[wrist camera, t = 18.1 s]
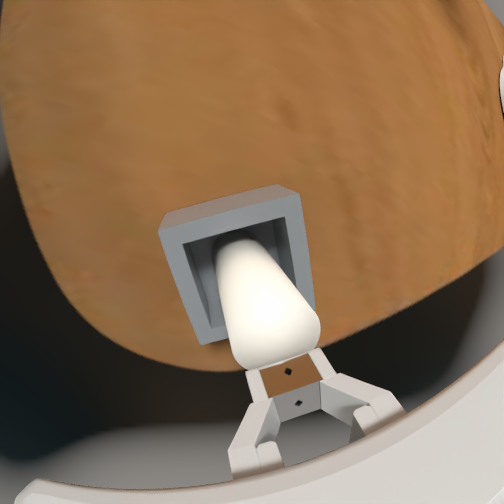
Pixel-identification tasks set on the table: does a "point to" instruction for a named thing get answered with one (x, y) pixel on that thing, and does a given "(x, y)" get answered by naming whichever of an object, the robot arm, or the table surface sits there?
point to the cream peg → (260, 303)
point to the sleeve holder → (216, 224)
